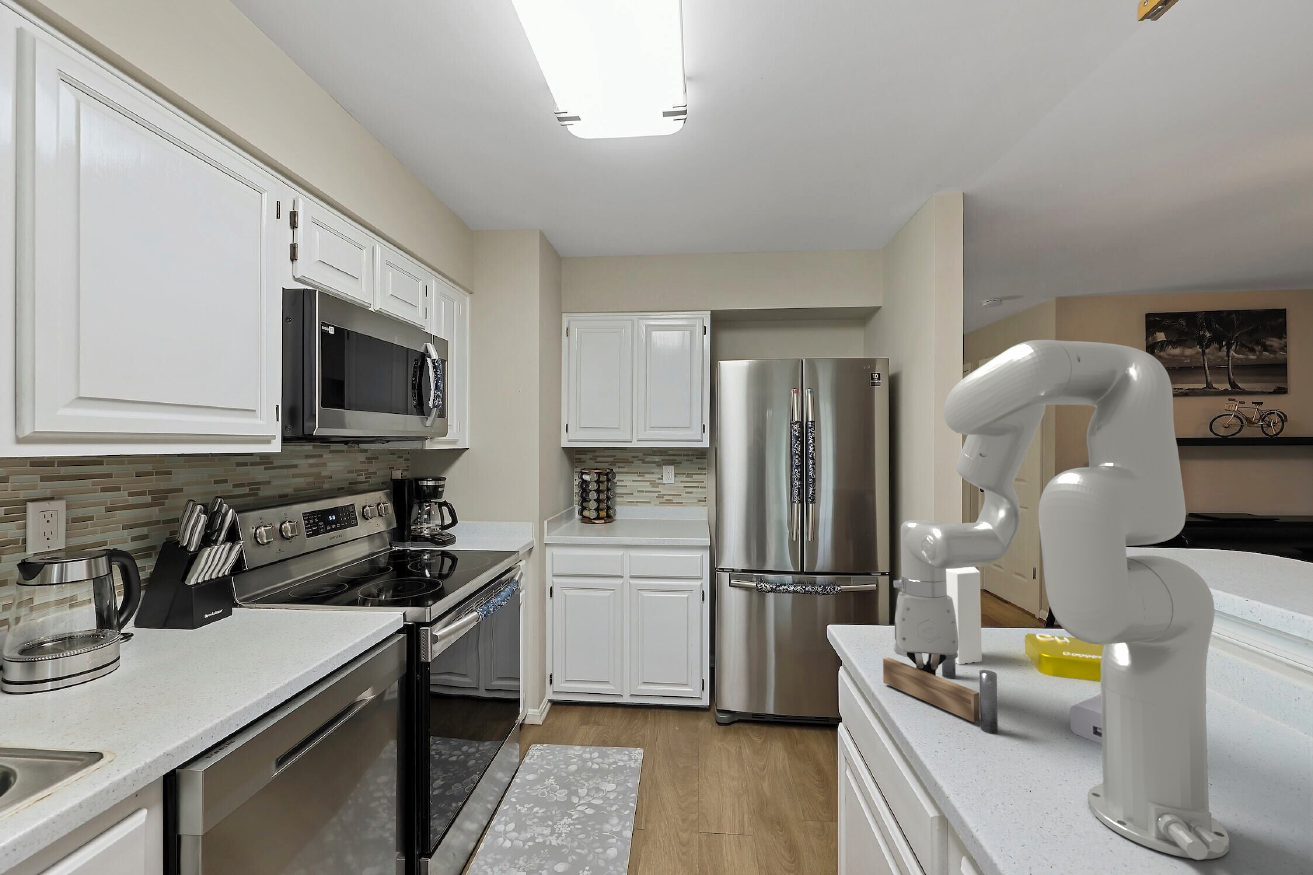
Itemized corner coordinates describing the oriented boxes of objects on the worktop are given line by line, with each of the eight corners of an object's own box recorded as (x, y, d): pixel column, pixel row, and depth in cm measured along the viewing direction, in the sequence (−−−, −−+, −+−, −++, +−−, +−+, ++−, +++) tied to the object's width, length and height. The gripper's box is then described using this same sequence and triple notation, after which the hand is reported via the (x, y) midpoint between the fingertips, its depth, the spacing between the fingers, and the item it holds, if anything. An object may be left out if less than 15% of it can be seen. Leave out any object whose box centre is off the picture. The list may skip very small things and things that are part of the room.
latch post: (957, 679, 111) (956, 632, 111) (944, 678, 111) (943, 631, 111) (953, 674, 113) (952, 628, 113) (940, 673, 113) (939, 628, 114)
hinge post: (1000, 734, 89) (999, 676, 89) (983, 732, 90) (982, 675, 90) (994, 726, 91) (993, 670, 92) (978, 725, 92) (977, 669, 92)
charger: (1185, 735, 89) (1142, 760, 82) (1115, 711, 97) (1070, 733, 90) (1184, 704, 89) (1141, 727, 82) (1114, 683, 97) (1069, 702, 90)
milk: (981, 662, 120) (981, 557, 120) (958, 665, 118) (957, 558, 118) (959, 652, 125) (958, 552, 126) (936, 654, 124) (935, 553, 124)
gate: (980, 720, 93) (979, 692, 93) (973, 722, 92) (973, 694, 92) (889, 680, 109) (888, 657, 109) (883, 682, 108) (882, 658, 108)
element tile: (1040, 676, 113) (1040, 652, 113) (1023, 651, 127) (1022, 630, 127) (1134, 687, 107) (1133, 662, 107) (1105, 660, 121) (1104, 637, 121)
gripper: (884, 590, 103) (886, 693, 102) (975, 594, 100) (977, 700, 99) (877, 581, 110) (879, 677, 110) (962, 584, 107) (964, 683, 106)
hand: (926, 688), depth 104 cm, fingers closed
